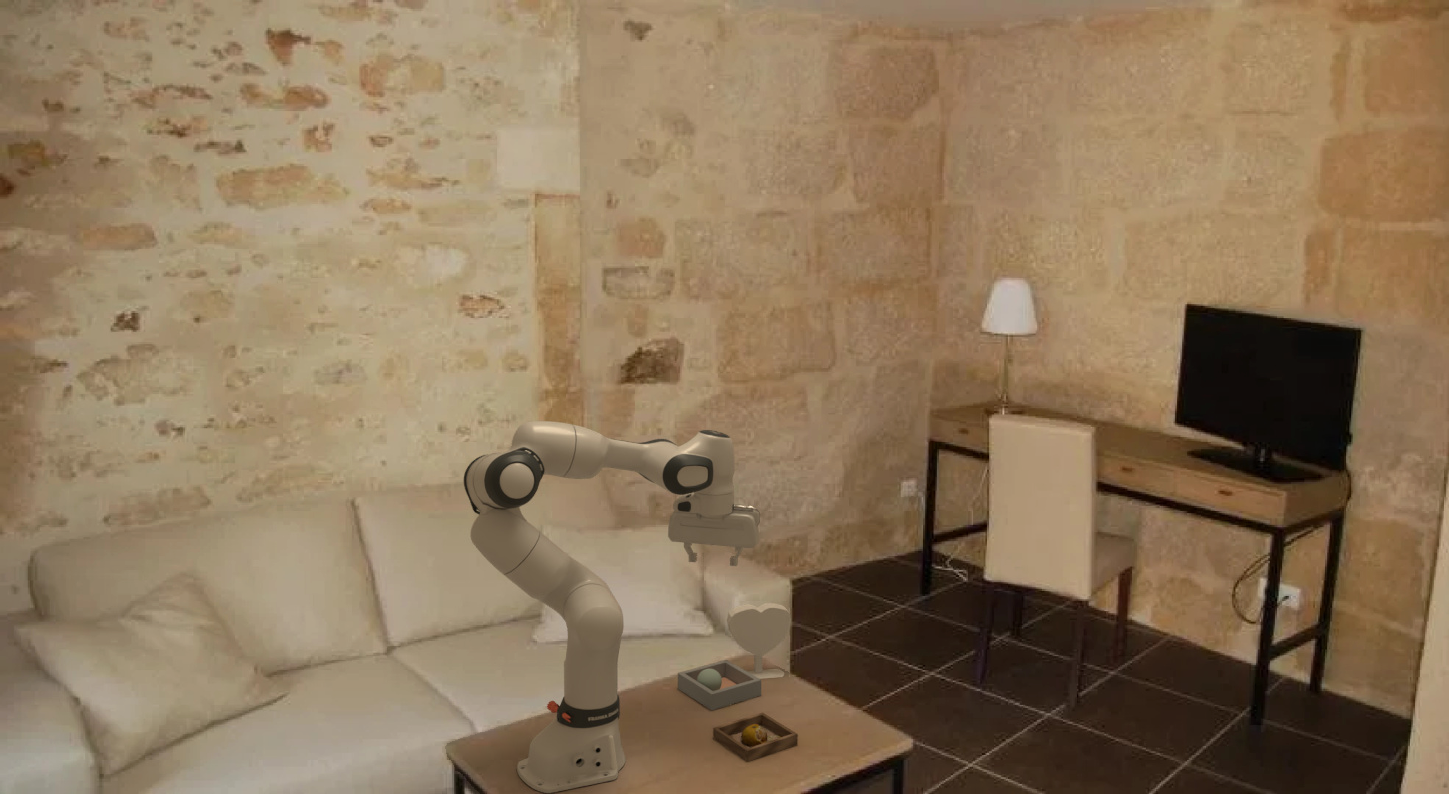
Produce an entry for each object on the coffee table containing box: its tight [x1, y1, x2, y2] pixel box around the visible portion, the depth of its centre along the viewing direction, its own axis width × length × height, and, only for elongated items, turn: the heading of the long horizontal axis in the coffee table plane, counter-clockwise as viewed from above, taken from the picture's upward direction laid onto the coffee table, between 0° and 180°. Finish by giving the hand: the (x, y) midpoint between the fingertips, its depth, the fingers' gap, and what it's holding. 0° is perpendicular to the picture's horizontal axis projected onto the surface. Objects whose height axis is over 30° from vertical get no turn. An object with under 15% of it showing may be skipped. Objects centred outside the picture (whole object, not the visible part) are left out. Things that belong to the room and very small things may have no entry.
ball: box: [697, 669, 722, 691], centre depth 268 cm, size 6×6×6 cm
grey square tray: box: [677, 659, 762, 711], centre depth 270 cm, size 14×14×4 cm
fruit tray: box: [712, 712, 799, 763], centre depth 245 cm, size 14×13×2 cm
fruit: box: [740, 724, 781, 748], centre depth 245 cm, size 8×8×4 cm
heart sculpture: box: [726, 602, 792, 680], centre depth 279 cm, size 16×5×18 cm, turn 102°
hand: (713, 563), depth 249 cm, fingers open, 8 cm apart
